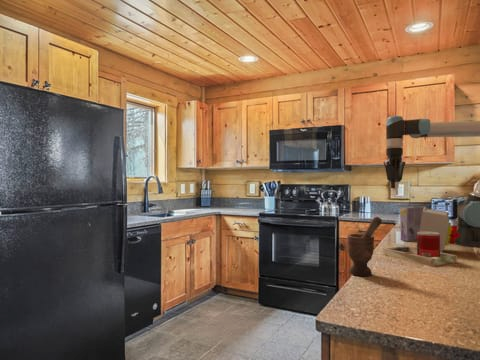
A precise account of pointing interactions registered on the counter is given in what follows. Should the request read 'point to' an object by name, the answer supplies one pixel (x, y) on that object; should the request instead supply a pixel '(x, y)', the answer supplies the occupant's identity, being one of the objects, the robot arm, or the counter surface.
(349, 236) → the mortar and pestle
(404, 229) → the cake pan box
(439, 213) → the electrical switch box
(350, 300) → the counter surface
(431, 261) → the slot frame
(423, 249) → the canned food
